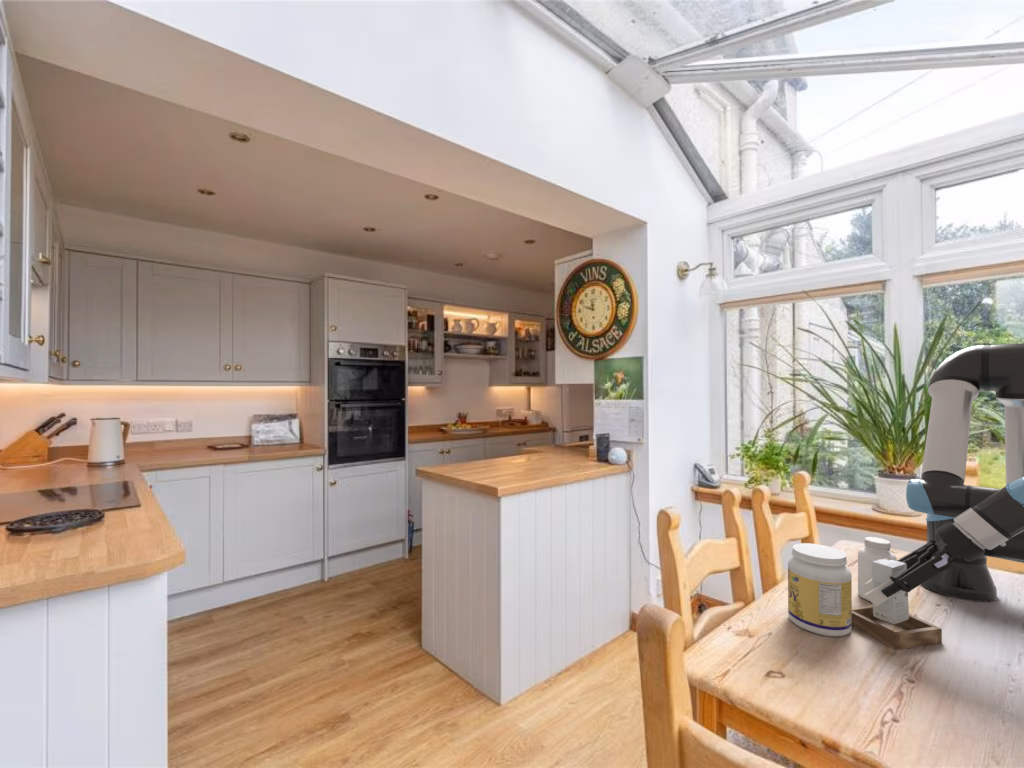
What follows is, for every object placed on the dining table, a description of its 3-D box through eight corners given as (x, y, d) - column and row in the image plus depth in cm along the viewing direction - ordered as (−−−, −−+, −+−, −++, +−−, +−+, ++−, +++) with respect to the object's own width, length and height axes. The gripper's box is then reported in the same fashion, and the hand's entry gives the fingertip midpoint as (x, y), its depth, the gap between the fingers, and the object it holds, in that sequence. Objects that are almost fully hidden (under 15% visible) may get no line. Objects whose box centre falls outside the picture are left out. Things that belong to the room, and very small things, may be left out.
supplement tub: (779, 610, 115) (779, 540, 115) (835, 614, 113) (834, 543, 113) (801, 636, 103) (800, 558, 103) (863, 641, 101) (863, 561, 101)
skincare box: (894, 625, 101) (893, 568, 101) (871, 616, 105) (870, 561, 105) (910, 619, 104) (909, 563, 104) (886, 610, 108) (885, 557, 108)
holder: (885, 616, 112) (885, 603, 112) (941, 642, 100) (941, 628, 100) (843, 621, 109) (843, 608, 109) (896, 649, 97) (896, 634, 97)
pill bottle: (904, 607, 116) (904, 545, 116) (867, 604, 118) (867, 543, 118) (886, 593, 124) (885, 536, 124) (851, 590, 126) (851, 534, 126)
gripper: (997, 565, 87) (886, 627, 97) (979, 538, 103) (885, 594, 113) (957, 531, 91) (854, 594, 100) (945, 510, 106) (857, 566, 116)
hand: (870, 594), depth 107 cm, fingers closed on skincare box, 7 cm apart
